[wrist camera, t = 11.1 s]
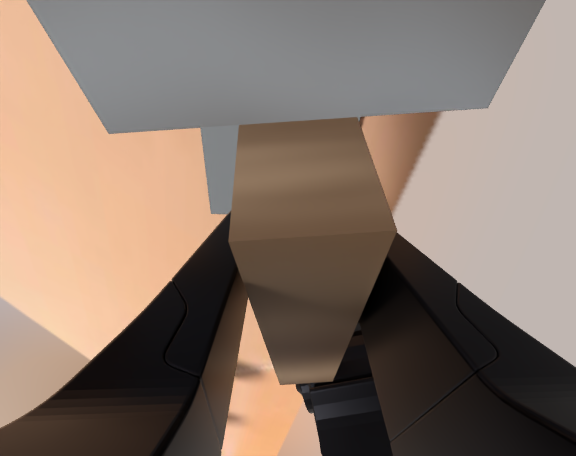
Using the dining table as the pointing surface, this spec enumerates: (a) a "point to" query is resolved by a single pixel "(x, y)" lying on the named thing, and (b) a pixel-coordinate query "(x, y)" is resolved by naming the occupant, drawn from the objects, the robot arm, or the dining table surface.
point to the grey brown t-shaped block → (292, 125)
